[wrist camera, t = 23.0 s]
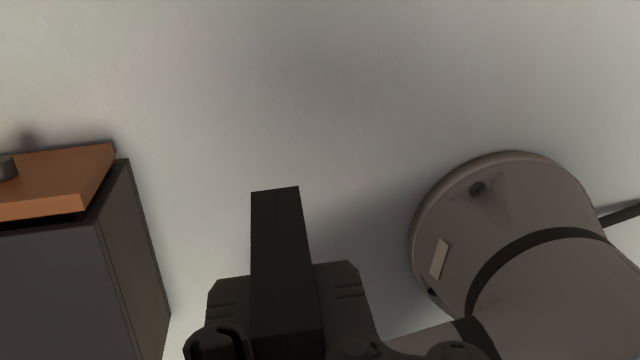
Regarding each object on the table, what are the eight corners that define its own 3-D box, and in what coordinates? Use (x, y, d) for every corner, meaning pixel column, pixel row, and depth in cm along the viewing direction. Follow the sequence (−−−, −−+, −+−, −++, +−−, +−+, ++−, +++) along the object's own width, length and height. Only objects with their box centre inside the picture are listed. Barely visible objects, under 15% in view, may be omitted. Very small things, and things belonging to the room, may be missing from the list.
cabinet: (-50, 180, 39) (-136, 255, 30) (128, 158, 39) (93, 224, 31) (19, 336, 45) (-36, 434, 37) (171, 314, 46) (152, 405, 37)
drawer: (-64, 147, 37) (-139, 201, 30) (106, 126, 37) (73, 174, 30) (11, 316, 43) (-36, 393, 36) (155, 295, 44) (136, 367, 37)
